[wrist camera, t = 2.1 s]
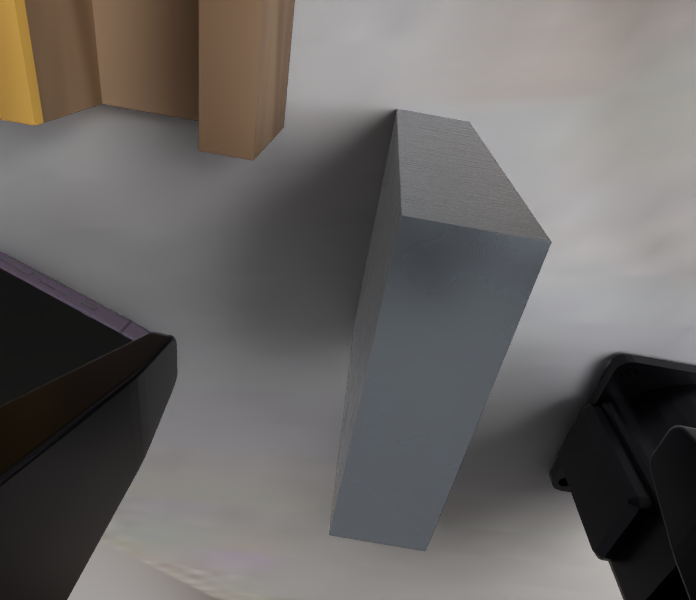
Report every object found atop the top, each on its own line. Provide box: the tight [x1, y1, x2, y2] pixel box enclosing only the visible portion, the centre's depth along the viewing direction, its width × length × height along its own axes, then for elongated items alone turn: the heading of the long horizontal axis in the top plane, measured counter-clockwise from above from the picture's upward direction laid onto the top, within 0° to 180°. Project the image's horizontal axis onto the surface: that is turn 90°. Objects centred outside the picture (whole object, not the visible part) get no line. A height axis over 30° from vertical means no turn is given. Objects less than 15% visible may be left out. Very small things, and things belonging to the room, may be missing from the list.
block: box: [329, 109, 551, 551], centre depth 12 cm, size 2×7×8 cm, turn 171°
